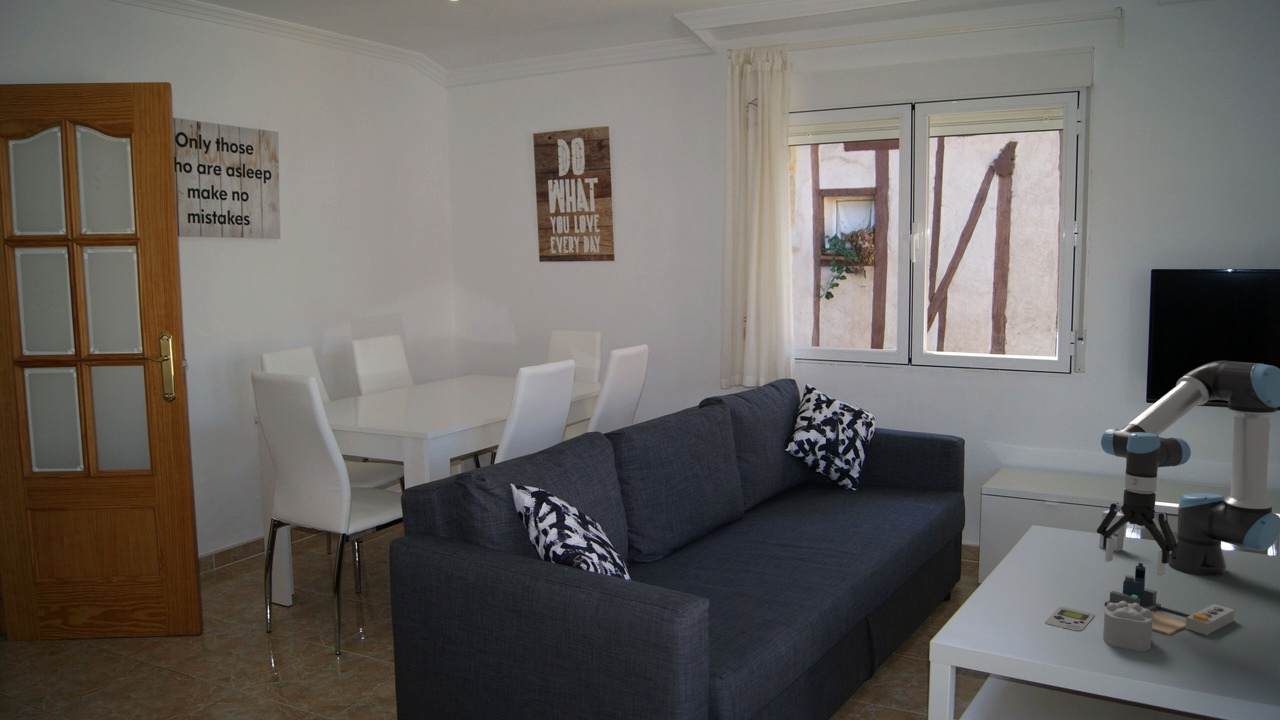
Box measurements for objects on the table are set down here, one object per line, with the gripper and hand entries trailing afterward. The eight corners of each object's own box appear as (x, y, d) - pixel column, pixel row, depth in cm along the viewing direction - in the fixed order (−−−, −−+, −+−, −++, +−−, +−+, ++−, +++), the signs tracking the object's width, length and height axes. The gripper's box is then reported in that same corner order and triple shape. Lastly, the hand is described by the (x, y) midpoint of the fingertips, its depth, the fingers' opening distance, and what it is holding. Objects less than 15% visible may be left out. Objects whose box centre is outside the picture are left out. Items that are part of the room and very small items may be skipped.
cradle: (1124, 596, 252) (1125, 580, 252) (1205, 619, 235) (1206, 602, 235) (1104, 605, 246) (1105, 588, 245) (1186, 629, 229) (1187, 612, 228)
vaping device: (1144, 608, 243) (1147, 565, 242) (1123, 607, 244) (1126, 564, 243) (1141, 605, 246) (1144, 562, 244) (1120, 603, 247) (1123, 561, 246)
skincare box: (1098, 547, 297) (1100, 511, 296) (1105, 545, 300) (1107, 509, 298) (1117, 552, 292) (1119, 515, 291) (1124, 549, 295) (1126, 513, 293)
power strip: (1212, 614, 239) (1213, 601, 239) (1233, 620, 235) (1234, 606, 235) (1185, 628, 230) (1186, 614, 229) (1207, 635, 226) (1208, 620, 225)
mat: (1142, 610, 242) (1142, 608, 242) (1190, 624, 232) (1190, 622, 232) (1120, 620, 235) (1120, 618, 235) (1168, 635, 225) (1169, 633, 225)
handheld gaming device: (1044, 622, 232) (1060, 605, 244) (1043, 624, 233) (1060, 608, 244) (1081, 630, 227) (1095, 613, 238) (1080, 633, 227) (1095, 616, 238)
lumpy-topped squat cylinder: (1101, 644, 220) (1103, 609, 219) (1104, 626, 231) (1106, 593, 230) (1150, 653, 215) (1153, 618, 214) (1151, 634, 226) (1153, 601, 225)
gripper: (1086, 482, 250) (1081, 557, 252) (1183, 502, 230) (1177, 583, 232) (1100, 479, 254) (1095, 553, 256) (1196, 498, 234) (1190, 577, 236)
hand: (1134, 567), depth 244 cm, fingers open, 13 cm apart
